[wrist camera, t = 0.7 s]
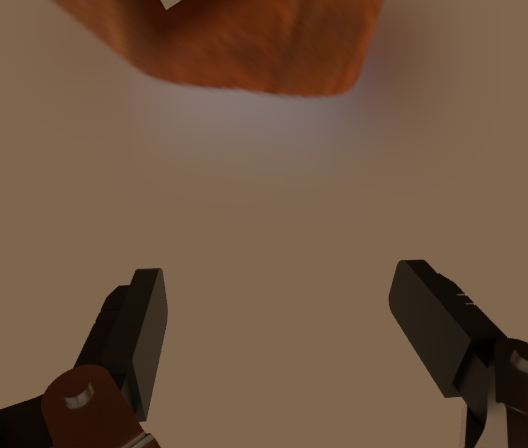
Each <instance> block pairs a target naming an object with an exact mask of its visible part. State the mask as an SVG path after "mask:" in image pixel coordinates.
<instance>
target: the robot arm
mask: <svg viewBox="0 0 528 448" xmlns="http://www.w3.org/2000/svg"><path fill="white" fill-rule="evenodd" d="M389 306H390V310H391V312H392V314H393V315H394V317H395V319H396V320H397V322H398V324H399V325H400V327H401V328H402V330H403V332H404V333H405V335H406V336H407V338H408V340H409V341H410V343H411V344H412V346H413V348H414V349H415V351H416V352H417V354H418V355H419V357H420V358H421V360H422V362H423V364H424V365H425V366H426V368H427V370H428V371H429V373H430V375H431V376H432V378H433V380H434V381H435V383H436V384H437V386H438V387H439V389H440V391H441V392H442V394H443V395H444V397H445V398H450V397H462V398H463V399H464V401H465V402H466V403H465V405H464V407H463V409H462V419H461V432H460V445H459V448H528V342H525V341H522V340H519V339H514V338H507V336H505V334H504V333H503V332H502V331H501V330H500V329H499V328H498V327H497V326H496V325H495V324H494V323H493V322H492V321H491V320H490V319H489V318H488V317H487V316H486V315H485V314H484V313H483V312H482V311H481V310H480V309H479V308H478V307H477V306H476V305H474V304H473V301H472V300H471V299H470V298H469V297H468V296H465V293H464V292H463V291H462V290H461V289H460V288H459V287H458V286H457V285H456V284H455V283H454V282H452V281H450V280H449V279H447V278H446V277H444V276H443V275H441V274H437V273H436V272H435V271H434V269H433V268H432V267H431V266H430V265H429V264H428V263H427V262H426V261H425V260H401V261H399V263H398V264H397V267H396V271H395V275H394V278H393V282H392V286H391V290H390V293H389ZM167 313H168V309H167V300H166V292H165V285H164V278H163V272H162V269H161V268H153V269H137V270H136V271H135V274H134V276H133V279H132V281H131V283H130V285H123V286H118V287H117V288H116V289H115V290H114V291H113V292H112V293H111V294H110V295H108V297H107V298H106V300H105V302H104V304H103V306H102V308H101V312H100V313H99V315H98V317H97V319H96V323H95V324H94V325H93V327H92V329H91V331H90V334H89V336H88V338H87V340H86V342H85V344H84V346H83V348H82V351H81V353H80V355H79V357H78V359H77V361H76V363H75V365H74V367H73V369H70V370H68V371H67V372H65V373H63V374H61V375H60V376H59V377H57V378H56V379H55V380H54V381H53V382H52V383H51V384H50V385H49V386H48V388H47V389H46V391H45V393H44V394H42V395H40V396H38V397H36V398H33V399H30V400H28V401H24V402H21V403H18V404H15V405H12V406H9V407H6V408H3V409H0V448H161V447H160V445H159V444H158V442H157V441H156V439H155V438H154V437H153V436H152V435H151V434H150V433H148V434H146V433H145V432H144V430H143V429H142V427H141V425H140V424H139V422H143V421H146V420H147V415H148V410H149V406H150V401H151V396H152V391H153V387H154V382H155V377H156V372H157V368H158V363H159V358H160V353H161V349H162V344H163V339H164V334H165V330H166V325H167Z"/></svg>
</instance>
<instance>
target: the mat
mask: <svg viewBox="0 0 528 448" xmlns="http://www.w3.org/2000/svg"><path fill="white" fill-rule="evenodd" d="M179 1H181V0H161V2H162V4H163V5H164V7H165V9H166V10H167V9H168V8H170V7H172V6H173V5H175V4H176V3H178V2H179Z"/></svg>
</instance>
